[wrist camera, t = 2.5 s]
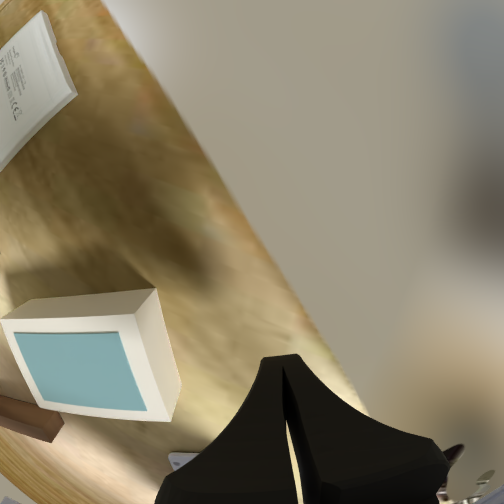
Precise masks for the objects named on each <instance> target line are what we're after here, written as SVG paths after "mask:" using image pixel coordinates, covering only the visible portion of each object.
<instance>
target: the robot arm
mask: <svg viewBox="0 0 504 504" xmlns="http://www.w3.org/2000/svg"><path fill="white" fill-rule="evenodd" d="M286 420H287V424H288V428H289V432H290V436H291V440H292V444H293V448H294V452H295V455H296V459H297V463H298V468H299V473H300V480H301V487H302V495H303V503H304V504H439V500H438V498H437V496H436V493H437V491H438V490H439V488H440V487H441V485H442V483H443V482H444V480H445V479H446V477H447V474H448V472H449V470H450V465H449V462H448V461H447V459H446V457H445V456H444V454H443V453H442V451H441V450H440V449H439V447H438V446H437V445H436V444H435V443H434V441H433V440H432V439H430V438H426V437H422V436H418V435H414V434H410V433H406V432H403V431H400V430H398V429H395V428H392V427H389V426H387V425H385V424H382V423H380V422H378V421H376V420H374V419H372V418H370V417H368V416H366V415H364V414H363V413H361V412H359V411H358V410H356V409H354V408H353V407H352V406H350V405H349V404H347V403H346V402H344V401H343V400H342V399H341V398H339V397H338V396H337V395H336V394H335V393H333V392H332V391H331V390H330V389H329V388H328V387H327V386H326V385H325V384H324V383H323V382H322V381H321V380H320V379H319V378H318V377H317V376H316V375H315V374H314V373H313V372H312V371H311V370H310V368H309V367H308V366H307V365H306V364H305V362H304V361H303V360H302V358H301V357H300V356H299V355H298V354H290V355H281V356H272V357H264V358H263V359H262V360H261V363H260V367H259V371H258V373H257V376H256V379H255V381H254V383H253V385H252V387H251V390H250V392H249V394H248V395H247V397H246V399H245V401H244V402H243V404H242V406H241V407H240V409H239V410H238V412H237V413H236V415H235V416H234V417H233V419H232V420H231V421H230V423H229V424H228V425H227V426H226V428H225V429H224V430H223V431H222V432H221V433H220V434H219V435H218V437H217V438H216V439H215V440H214V441H213V442H212V443H211V444H209V445H208V446H207V447H206V448H205V449H204V450H203V451H201V452H200V453H177V452H172V453H170V454H169V456H168V459H169V462H170V464H171V466H172V468H173V470H174V472H173V473H171V474H169V475H167V476H166V477H165V479H164V481H163V483H162V485H161V487H160V490H159V492H158V494H157V496H156V499H155V503H154V504H298V499H297V491H296V485H295V480H294V475H293V469H292V464H291V458H290V452H289V446H288V440H287V434H286ZM1 504H20V503H18V502H16V501H15V500H13V499H11V498H9V497H7V496H5V497H4V499H3V501H2V502H1ZM472 504H504V484H503V485H502V486H500V487H499V488H498V489H496V490H494V491H493V492H491V493H489V494H488V495H486V496H485V497H483V498H481V499H479V500H478V501H476V502H474V503H472Z"/></svg>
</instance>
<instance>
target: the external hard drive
mask: <svg viewBox="0 0 504 504" xmlns="http://www.w3.org/2000/svg"><path fill="white" fill-rule="evenodd" d="M56 42H57V41H56V38H55V35H54V33H53V30H52V27H51V24H50V21H49V18H48V15H47V14H46V13H45V12H44V11H42V10H41V11H40V12H39V13H37V14H36V15H35V16H34V17H33V18H32V19H31V20H30V21H29V22H28V23H27V24H26V25H24V26H23V27H22V28H21V29H20V30H19V31H18V32H17V33H16V34H15V35H14V36H13V37H12V38H11V39H10V40H9V41H8V42H7V43H6V44H5V45H4V46H3V47H2V48H1V50H0V172H1V171H2V170H3V169H4V168H5V166H6V165H7V164H8V163H9V162H10V161H11V159H12V158H13V157H14V156H15V155H16V154H17V153H18V152H19V151H20V149H21V148H22V147H23V146H24V145H25V144H26V143H27V142H28V141H29V140H30V139H31V138H32V137H33V136H34V135H35V134H36V133H37V132H38V131H39V130H40V129H41V128H42V127H43V126H44V125H45V124H46V123H47V122H48V121H49V120H50V119H51V118H52V117H53V116H54V115H55V114H57V113H58V112H59V111H60V110H61V109H62V108H63V107H64V106H65V105H67V104H68V103H69V102H70V101H71V100H72V99H74V98H75V97H76V96H77V95H78V93H77V91H76V89H75V86H74V84H73V82H72V79H71V77H70V74H69V72H68V69H67V67H66V64H65V62H64V59H63V57H62V56H61V55H60V53H59V51H58V48H57V45H56Z"/></svg>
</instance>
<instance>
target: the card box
mask: <svg viewBox="0 0 504 504" xmlns="http://www.w3.org/2000/svg"><path fill="white" fill-rule="evenodd" d="M0 322H1V325H2V328H3V330H4V333H5V335H6V338H7V341H8V343H9V346H10V348H11V350H12V353H13V355H14V357H15V360H16V362H17V364H18V366H19V369H20V371H21V373H22V375H23V377H24V379H25V381H26V383H27V385H28V387H29V389H30V391H31V393H32V395H33V397H34V398H35V400H36V402H37V404H38V406H39V407H40V408H44V409H49V410H55V411H60V412H66V413H72V414H79V415H86V416H94V417H102V418H112V419H124V420H138V421H161V422H171V420H172V416H173V413H174V410H175V407H176V403H177V400H178V397H179V394H180V390H181V387H182V383H181V379H180V376H179V373H178V369H177V366H176V363H175V359H174V356H173V352H172V349H171V345H170V341H169V338H168V334H167V330H166V326H165V322H164V319H163V315H162V310H161V306H160V302H159V298H158V294H157V289H156V288H150V289H140V290H131V291H120V292H110V293H100V294H89V295H77V296H66V297H54V298H41V299H30V300H29V301H27V302H25V303H24V304H22V305H21V306H19V307H17V308H16V309H14V310H13V311H11V312H10V313H8V314H7V315H5V316H3V317H2V318H0Z"/></svg>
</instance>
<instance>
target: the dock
mask: <svg viewBox="0 0 504 504" xmlns="http://www.w3.org/2000/svg"><path fill="white" fill-rule="evenodd" d="M63 425H64V422H63V420H62V418H61V416H60V415H59V413H58V411H55V410H49V409H44V408H40V407H39V406H38V405H35V404H31V403H27V402H23V401H19V400H15V399H12V398H8V397H5V396H1V395H0V426H2V427H5V428H7V429H10V430H12V431H15V432H18V433H21V434H24V435H27V436H30V437H33V438H36V439H39V440H42V441H45V442H49V443H52V441H53V440H54V438H55V437H56V435H57V434H58V432H59V431H60V429H61V428H62V426H63Z"/></svg>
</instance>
